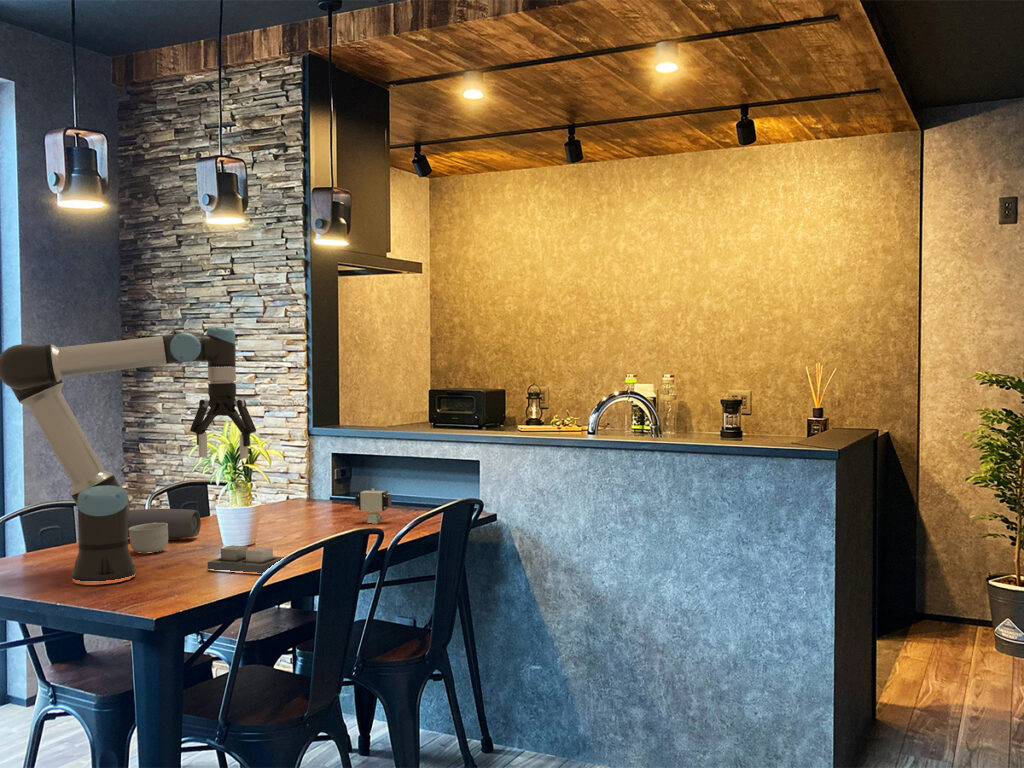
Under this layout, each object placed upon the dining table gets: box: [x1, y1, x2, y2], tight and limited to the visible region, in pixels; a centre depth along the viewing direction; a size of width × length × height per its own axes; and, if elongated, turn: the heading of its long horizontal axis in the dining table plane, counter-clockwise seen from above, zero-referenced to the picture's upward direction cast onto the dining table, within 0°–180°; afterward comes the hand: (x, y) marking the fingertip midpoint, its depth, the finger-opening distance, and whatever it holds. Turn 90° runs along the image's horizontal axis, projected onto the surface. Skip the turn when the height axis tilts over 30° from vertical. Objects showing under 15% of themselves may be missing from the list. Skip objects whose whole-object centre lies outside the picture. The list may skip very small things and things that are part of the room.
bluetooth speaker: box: [127, 508, 202, 541], centre depth 290 cm, size 23×9×10 cm, turn 89°
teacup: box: [128, 522, 169, 553], centre depth 273 cm, size 14×11×8 cm
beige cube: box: [246, 546, 274, 564], centre depth 247 cm, size 5×5×5 cm
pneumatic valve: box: [354, 488, 393, 525], centre depth 317 cm, size 6×12×12 cm, turn 80°
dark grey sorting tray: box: [207, 544, 285, 574], centre depth 248 cm, size 11×17×6 cm, turn 71°
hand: (223, 457), depth 260 cm, fingers open, 13 cm apart
